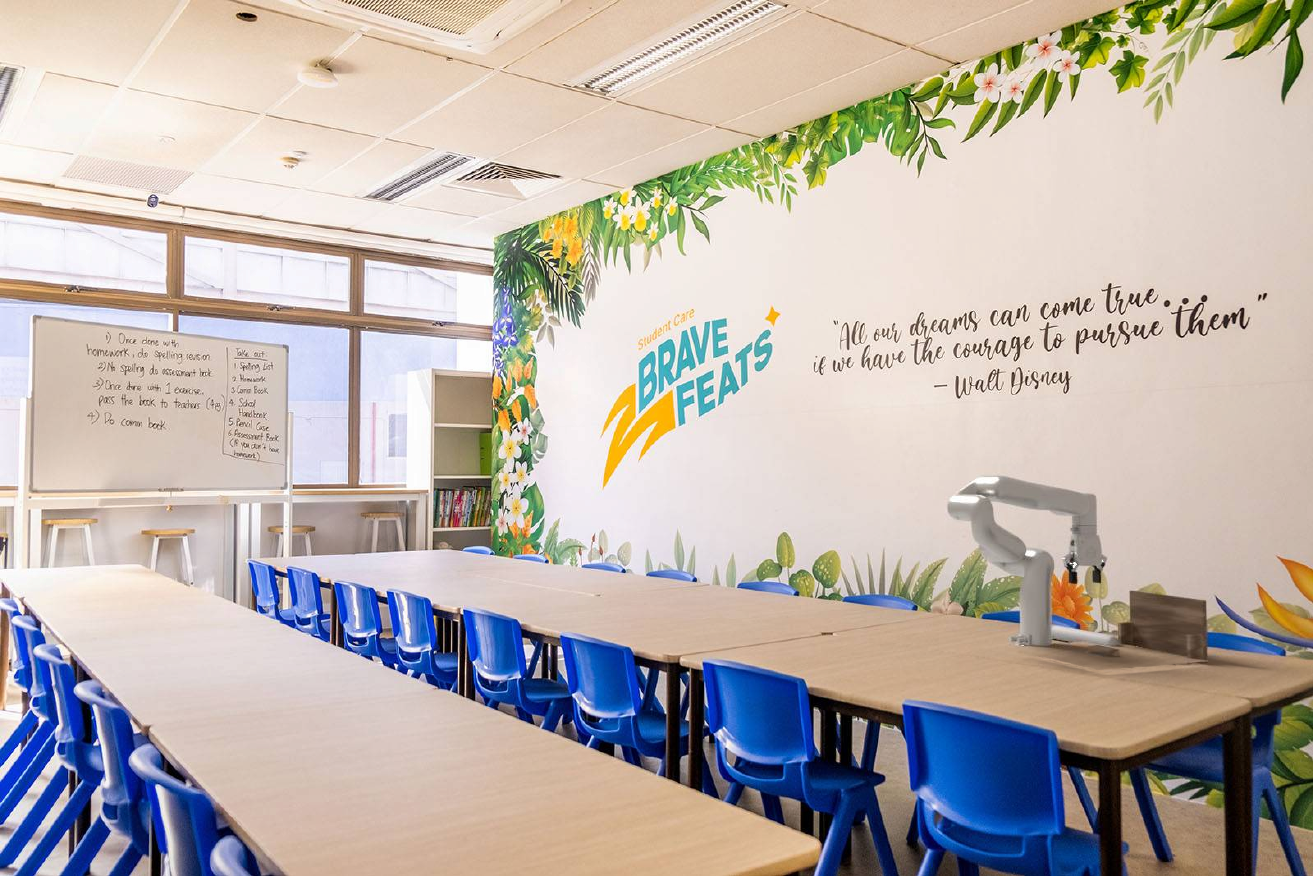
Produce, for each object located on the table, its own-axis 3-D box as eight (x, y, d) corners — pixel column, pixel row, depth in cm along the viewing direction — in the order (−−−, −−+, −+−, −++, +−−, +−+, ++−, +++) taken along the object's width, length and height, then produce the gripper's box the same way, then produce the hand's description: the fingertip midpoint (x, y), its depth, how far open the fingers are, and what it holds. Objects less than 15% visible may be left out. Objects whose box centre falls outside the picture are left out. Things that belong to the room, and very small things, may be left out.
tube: (1124, 637, 319) (1060, 626, 342) (1112, 633, 317) (1050, 622, 340) (1120, 654, 318) (1057, 642, 341) (1109, 650, 316) (1046, 637, 339)
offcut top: (1108, 657, 298) (1108, 650, 298) (1088, 652, 306) (1088, 645, 306) (1119, 656, 300) (1119, 649, 300) (1098, 651, 307) (1098, 645, 307)
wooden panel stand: (1190, 663, 296) (1189, 601, 296) (1118, 647, 322) (1117, 591, 323) (1207, 661, 298) (1206, 600, 299) (1134, 646, 324) (1133, 590, 325)
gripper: (1071, 531, 324) (1071, 585, 324) (1114, 531, 330) (1114, 583, 329) (1054, 530, 331) (1055, 582, 331) (1097, 530, 337) (1097, 581, 336)
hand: (1084, 583), depth 330 cm, fingers open, 9 cm apart
